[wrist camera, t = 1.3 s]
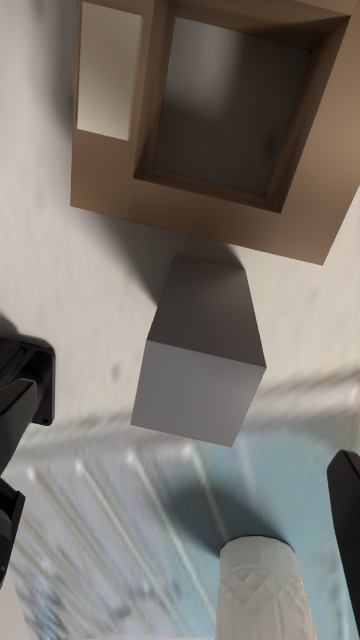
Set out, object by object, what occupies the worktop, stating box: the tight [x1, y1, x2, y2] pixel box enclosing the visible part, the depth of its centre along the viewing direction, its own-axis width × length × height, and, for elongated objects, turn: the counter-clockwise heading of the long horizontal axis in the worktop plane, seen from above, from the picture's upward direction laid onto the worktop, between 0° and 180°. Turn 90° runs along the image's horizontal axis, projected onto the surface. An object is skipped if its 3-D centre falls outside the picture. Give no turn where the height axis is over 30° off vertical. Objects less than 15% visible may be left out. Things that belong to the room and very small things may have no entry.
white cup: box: [215, 536, 318, 640], centre depth 25 cm, size 8×8×10 cm
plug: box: [131, 254, 267, 447], centre depth 14 cm, size 4×4×8 cm
